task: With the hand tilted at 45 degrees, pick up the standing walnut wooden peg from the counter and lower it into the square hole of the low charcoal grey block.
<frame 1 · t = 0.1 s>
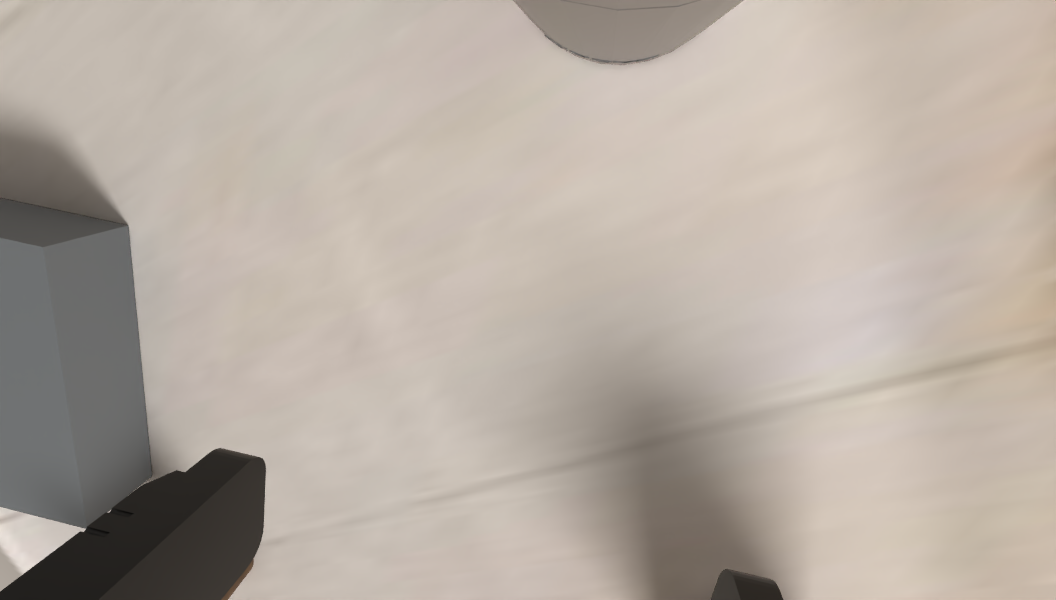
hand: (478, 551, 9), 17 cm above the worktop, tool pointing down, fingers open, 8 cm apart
hole block: (12, 332, 31), on the worktop
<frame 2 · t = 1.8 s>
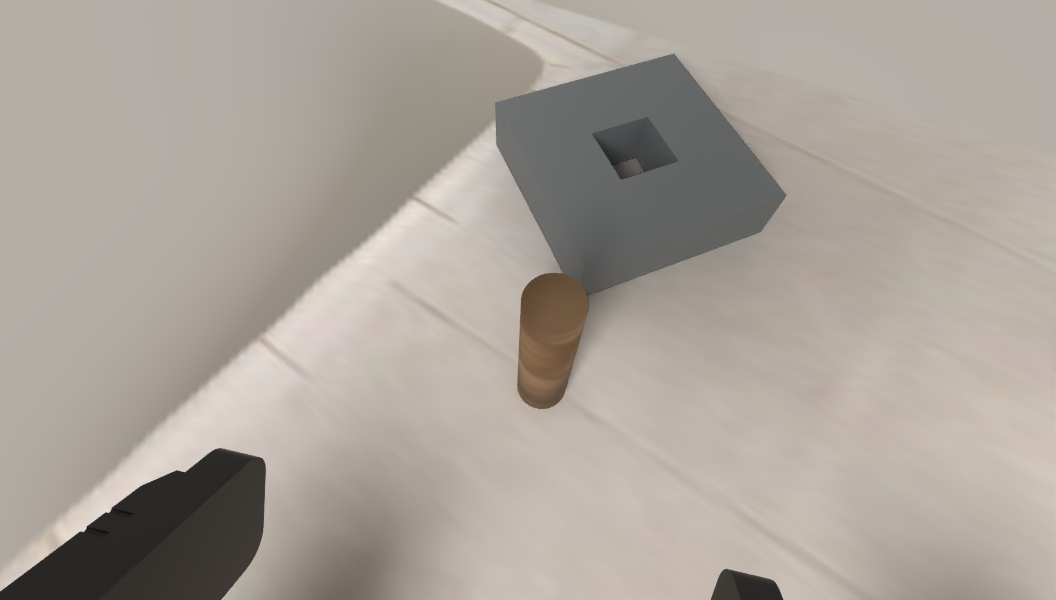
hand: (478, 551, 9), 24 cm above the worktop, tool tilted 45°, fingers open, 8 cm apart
peg: (541, 385, 36), on the worktop
hole block: (623, 186, 44), on the worktop
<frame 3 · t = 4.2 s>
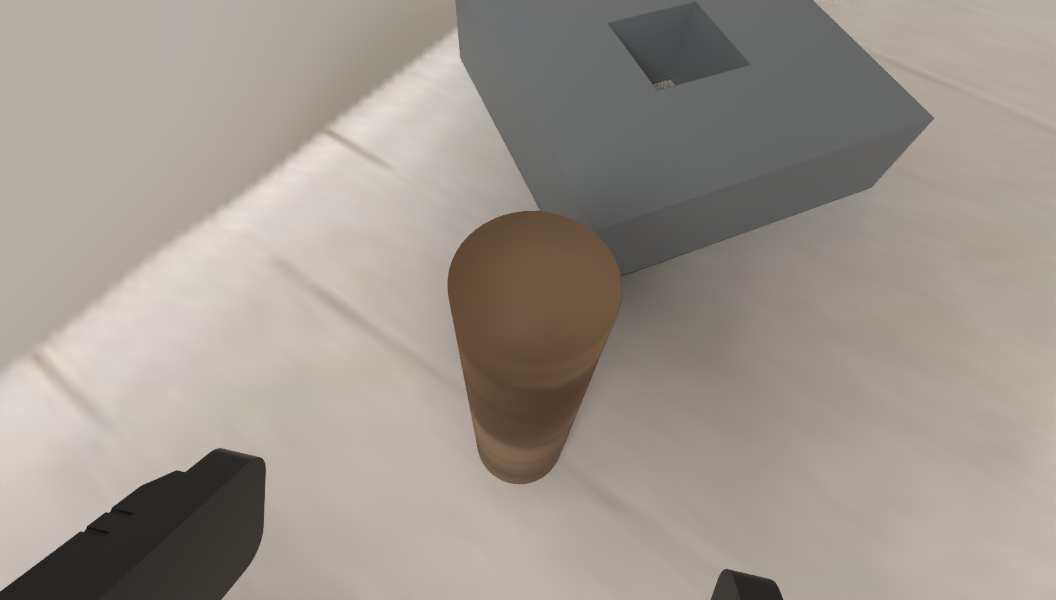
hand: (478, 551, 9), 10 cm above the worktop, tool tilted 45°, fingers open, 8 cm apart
peg: (519, 439, 21), on the worktop
hole block: (653, 118, 29), on the worktop
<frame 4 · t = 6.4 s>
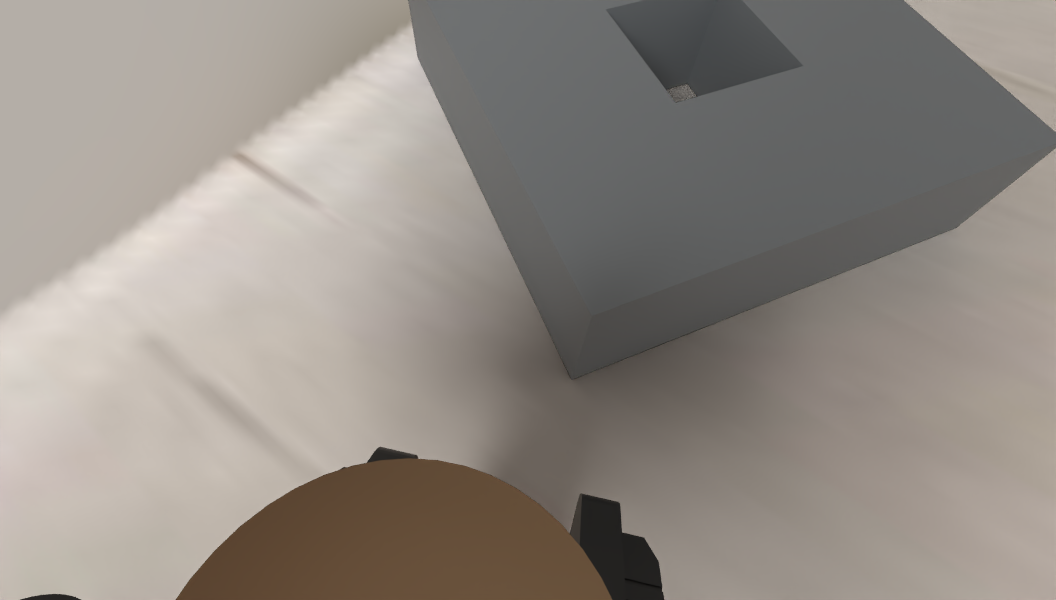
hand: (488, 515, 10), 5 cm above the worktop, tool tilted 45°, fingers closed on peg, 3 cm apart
hole block: (666, 136, 22), on the worktop
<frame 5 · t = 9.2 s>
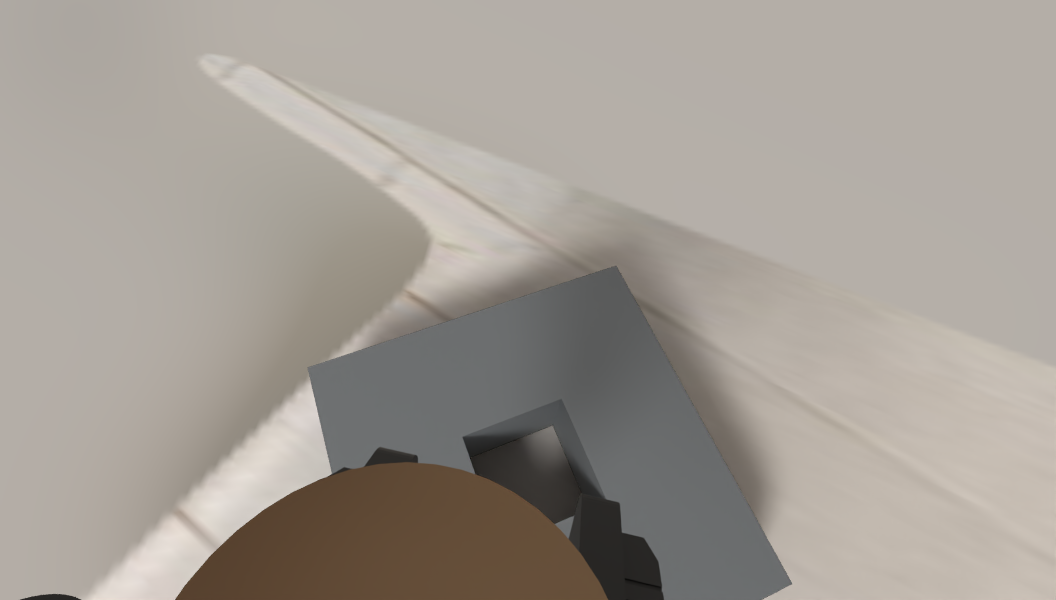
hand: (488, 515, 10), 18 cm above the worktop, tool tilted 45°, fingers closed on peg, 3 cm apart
hole block: (527, 486, 27), on the worktop
when the fingers open (7 cm above the worktop, at t = 12.1 s): peg drops 1 cm, resting in hole block.
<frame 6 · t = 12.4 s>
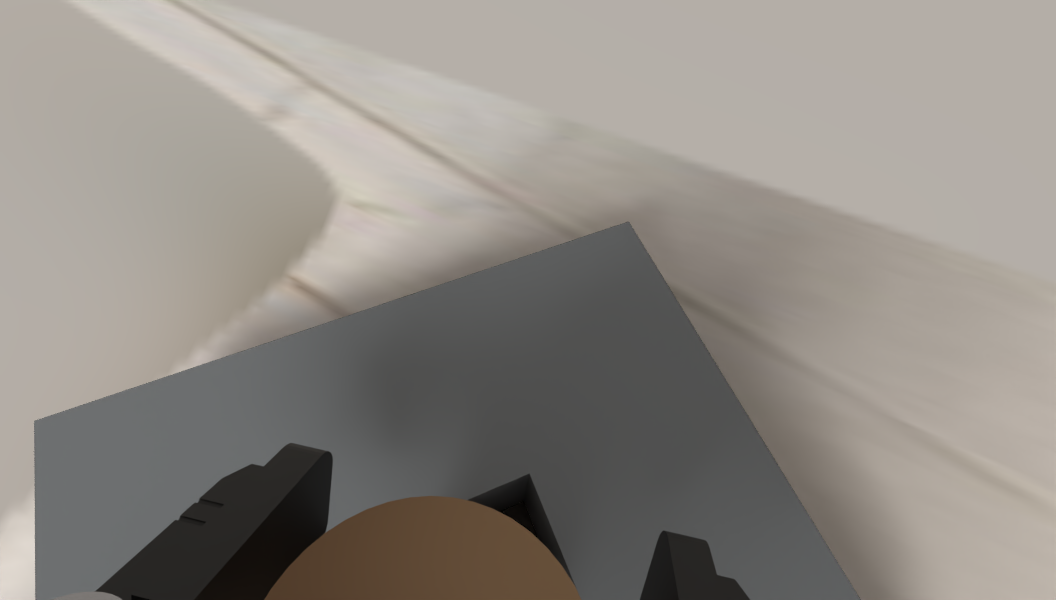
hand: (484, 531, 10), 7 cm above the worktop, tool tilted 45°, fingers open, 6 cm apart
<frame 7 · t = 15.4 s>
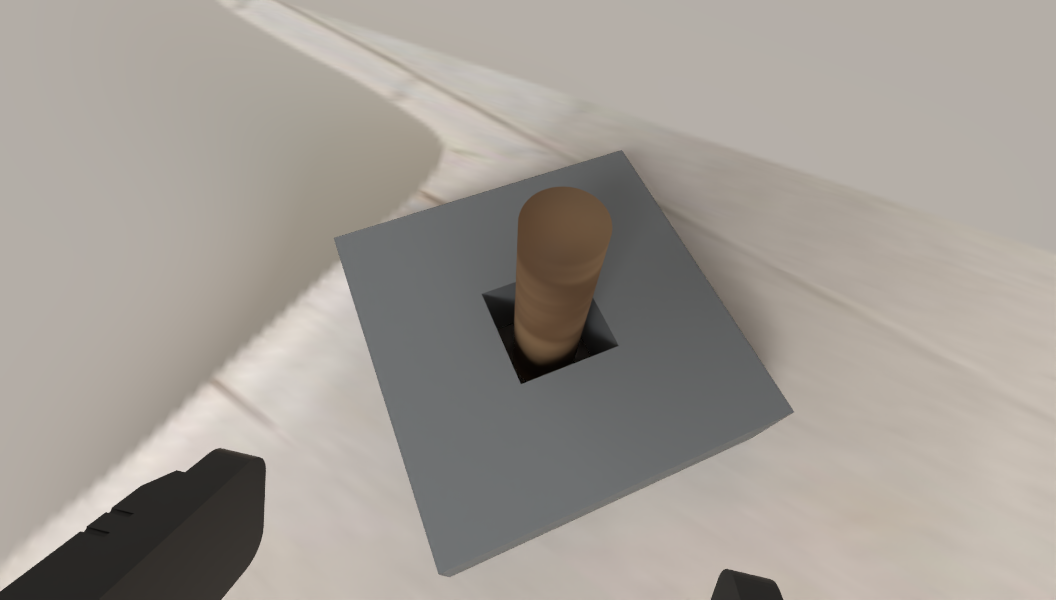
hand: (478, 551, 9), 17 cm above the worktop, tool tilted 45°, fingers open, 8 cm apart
peg: (543, 357, 29), resting in hole block
hole block: (542, 356, 29), on the worktop
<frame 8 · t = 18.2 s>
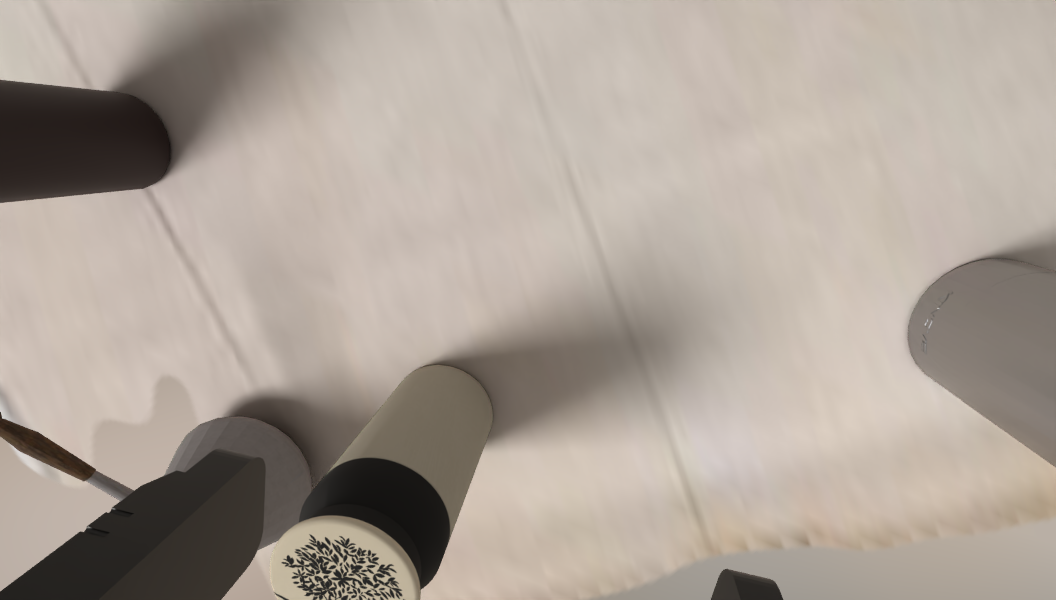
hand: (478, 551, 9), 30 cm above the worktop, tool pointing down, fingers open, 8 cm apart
travel mug: (444, 408, 43), on the worktop
coffee pot: (230, 414, 46), on the worktop
bottle: (132, 142, 40), on the worktop
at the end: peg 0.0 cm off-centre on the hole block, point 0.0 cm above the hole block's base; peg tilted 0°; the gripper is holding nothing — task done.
